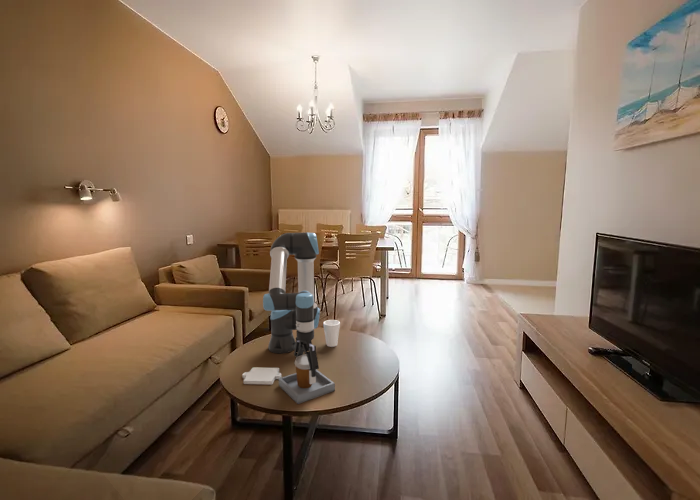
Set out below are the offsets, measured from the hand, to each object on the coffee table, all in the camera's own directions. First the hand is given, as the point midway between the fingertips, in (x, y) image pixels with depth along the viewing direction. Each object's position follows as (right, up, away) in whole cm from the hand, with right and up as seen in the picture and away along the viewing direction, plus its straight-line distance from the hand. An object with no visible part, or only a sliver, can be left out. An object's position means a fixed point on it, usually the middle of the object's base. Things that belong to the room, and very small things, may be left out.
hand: (306, 377), depth 159 cm
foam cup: (+9, +2, +48) cm, 49 cm away
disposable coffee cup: (-1, -4, +2) cm, 4 cm away
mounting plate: (-22, -4, +11) cm, 25 cm away
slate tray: (0, -5, +1) cm, 5 cm away
